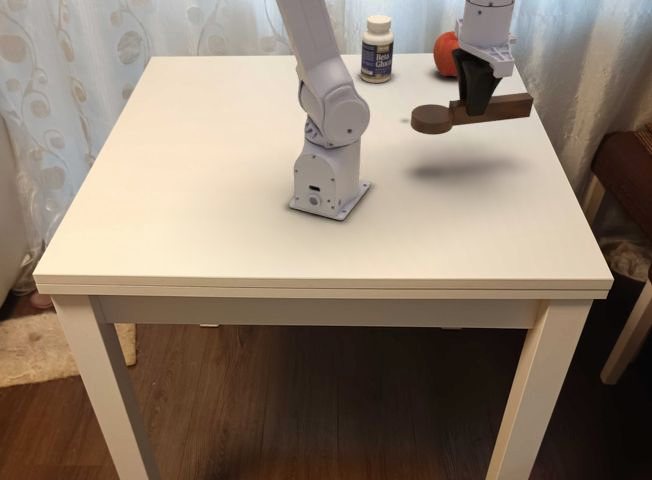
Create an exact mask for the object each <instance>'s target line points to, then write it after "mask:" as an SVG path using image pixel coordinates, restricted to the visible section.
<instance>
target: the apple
mask: <svg viewBox="0 0 652 480" xmlns="http://www.w3.org/2000/svg"><path fill="white" fill-rule="evenodd" d="M454 32H455V30H451V31H447V32H444V33H442V34H440V35H439V36H438V38H437V39H436V40H435V42H434V45H433V50H432V53H433V54H432V56H433V61H434V64H435V68H436V69H437V70H438V72H439V73H440V74H441V75H442V76H444V77H448V76H453V77H456V78H458V76H457V70H456V66H455V63H454V60H453V57H452V54H451V53H452V50H453V49H457V48H460V47H459V45H458V37H456V36H455V35H454Z"/></svg>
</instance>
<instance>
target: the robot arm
mask: <svg viewBox="0 0 652 480" xmlns="http://www.w3.org/2000/svg"><path fill="white" fill-rule="evenodd" d="M275 3H276V5H277V9H278V11H279V14H280V18H281V20H282V23H283V25H284V29H285V32H286V34H287V37H288V40H289V43H290V45H291V48H292V51H293V54H294V57H295V59H296V67H295V72H296V75H297V78H298V79H297V80H298V90H297V100H298V103H299V106H300V107H301V109H302V110H303V111H304V112H305V113H306V120H305V123H304V127H303V131H304V139H303V140H304V141H303V146H302V150H301V152H300V154H299V156H298V157H296V160H295V161H294V165H293V185H294V187H293V189H294V197H293V198H292V199H291V200H290V202H289V203H288V206H289V208H291V209H294V210H299V211H303V212H307V213H310V214H315V215H318V216H322V217H326V218H331V219H335V220H338V221H344V220H345V219H346V218H347V216H348V215H349V214H350V212H351V211H352V210H353V208H354V207H355V206H356V204H357V203H359V201H360V200H361V198H362V197H363V195H364V194H365V193H366V192H367V191H368V189H370V187H371V183H370V182H368V181H365V180H361V178H360V175H361V174H360V173H361V150H362V137H363V135H364V134H365V132H366V131H367V129H368V127H369V124H370V120H371V110H370V106H369V104H368V102H367V101H366V99H365V98H364V97H362V96H361V95H360V93H358V90H357V89H356V86H355V83H354V79H353V77H352V75H351V74H350V72H349V70H348V68H347V66H346V63H345V62H344V60H343V58H342V56H341V53H340V52H341V51H340V50H339V49H340V48H339V46H338V42H337V39H336V35H335V32H334V28H333V25H332V21H331V18H330V15H329V12H328V8H327V4H326V1H325V0H275ZM515 4H516V0H464V9H463V15H462V17H463V18H456V19H455V25H454V31H455V32H454V35H455V36H456V37H458V45H459V47H460V48H457V49H453V50H452V53H451V54H452V57H453V60H454V63H455V66H456V70H457V76H458V77H457V82H458V83H457V84H458V96H459V100H464V99H467V103H466V107H467V115H468V116H470V117H471V116H479V115H483V114H484V112H485V110H486V108H487V106H488V104H489V101H490V99H491V97H492V96H494V92H495V91H496V89H497V88H498V86H499V84H500V83H501V82H502V80H503V79H504V78H510V77H512V76H513V72H514V69H515V63H516V60H515V58H514V57H513V56H512V50H511V45H515V44H516V43H517V40H518V39H517V35H515V34H514V33H512V32H510V30H511V24H512V19H513V14H514V9H515Z"/></svg>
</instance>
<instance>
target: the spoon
mask: <svg viewBox="0 0 652 480" xmlns="http://www.w3.org/2000/svg"><path fill="white" fill-rule="evenodd" d="M534 99H535V98H534V97H533V96H532V95H531V94H530V93H529V92H527V91H526V92H519V93H518V92H517V93H509V94H502V95H501V94H500V95H492V97H491V99H490V101H489V104H488V106H487V108H486V110H485V112H484V114H483V115H479V116H471V117H470V116H468V115H467V107H466V103H467V99H464V100H460V99H456V100H449V103H448V107H447V106H445V105H441V104H434V103H432V104H431V103H430V104H429V103H428V104H422V105H419V106H416V107H415V108H413V109H412V111H411V115H410V127H411V129H413V130H414V131H415V132H417V133H420V134H424V135H430V136H435V135H443V134H446V133H448V132H450V131H451V130H452V129H453V127H456V126H463V125H464V126H465V125H473V124H480V123H481V124H482V123H489V122H490V123H491V122H500V121H507V120H516V119H525V118H530V117H531V114H532V109H533V106H534V105H533V104H534Z"/></svg>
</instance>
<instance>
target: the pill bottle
mask: <svg viewBox="0 0 652 480" xmlns="http://www.w3.org/2000/svg"><path fill="white" fill-rule="evenodd" d="M391 27H392V18H391V17H390V16H388V15H383V14H374V15H370V16H368V17H367V19H366V29H367V30H366V31H364V32H363V34H362V38H361V62H360V66H361V67H360V77H361V79H362V80H364V81H366V82H368V83H375V84H376V83H377V84H380V83H385V82H387V81H389V80H390V79H391V77H392V70H393V57H394V43H395V35H394V33H393V32H392V31H391V30H390V29H391Z"/></svg>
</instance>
